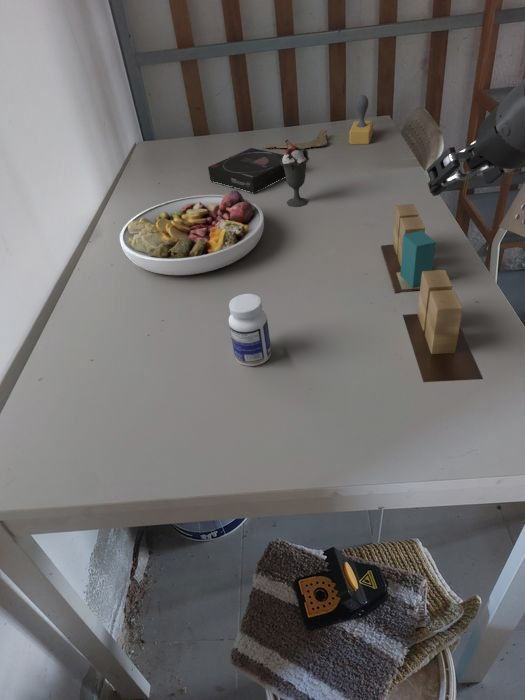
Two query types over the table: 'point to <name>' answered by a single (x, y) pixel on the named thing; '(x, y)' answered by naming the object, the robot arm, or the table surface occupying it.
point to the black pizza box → (249, 170)
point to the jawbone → (317, 142)
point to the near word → (440, 332)
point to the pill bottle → (249, 330)
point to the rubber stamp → (361, 124)
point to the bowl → (193, 234)
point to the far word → (401, 245)
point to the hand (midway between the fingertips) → (459, 183)
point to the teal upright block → (416, 257)
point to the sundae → (295, 172)
